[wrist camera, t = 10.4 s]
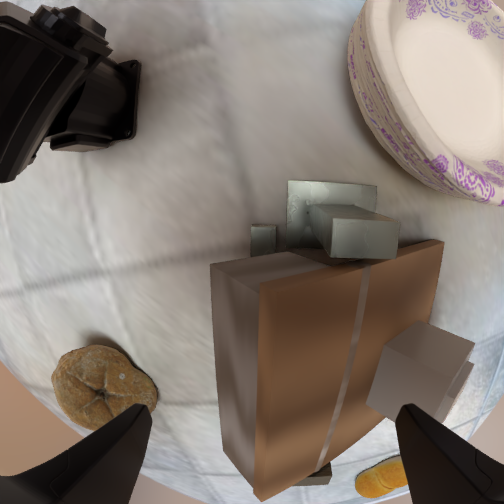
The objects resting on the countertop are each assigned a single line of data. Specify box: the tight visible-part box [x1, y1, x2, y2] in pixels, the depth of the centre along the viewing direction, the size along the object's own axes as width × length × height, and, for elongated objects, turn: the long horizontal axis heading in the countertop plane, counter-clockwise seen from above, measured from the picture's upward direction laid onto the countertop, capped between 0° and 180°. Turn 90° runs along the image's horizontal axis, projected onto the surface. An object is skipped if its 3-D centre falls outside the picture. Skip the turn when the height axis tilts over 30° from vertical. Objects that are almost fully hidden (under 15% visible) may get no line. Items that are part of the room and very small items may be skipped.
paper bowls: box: [347, 0, 504, 206], centre depth 12 cm, size 15×15×8 cm
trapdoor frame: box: [251, 180, 400, 486], centre depth 17 cm, size 23×8×8 cm, turn 179°
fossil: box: [51, 345, 157, 431], centre depth 22 cm, size 9×4×10 cm
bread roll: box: [355, 455, 408, 498], centre depth 24 cm, size 8×9×4 cm
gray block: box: [366, 320, 475, 423], centre depth 14 cm, size 5×5×6 cm
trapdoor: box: [210, 239, 444, 502], centre depth 17 cm, size 16×16×6 cm
